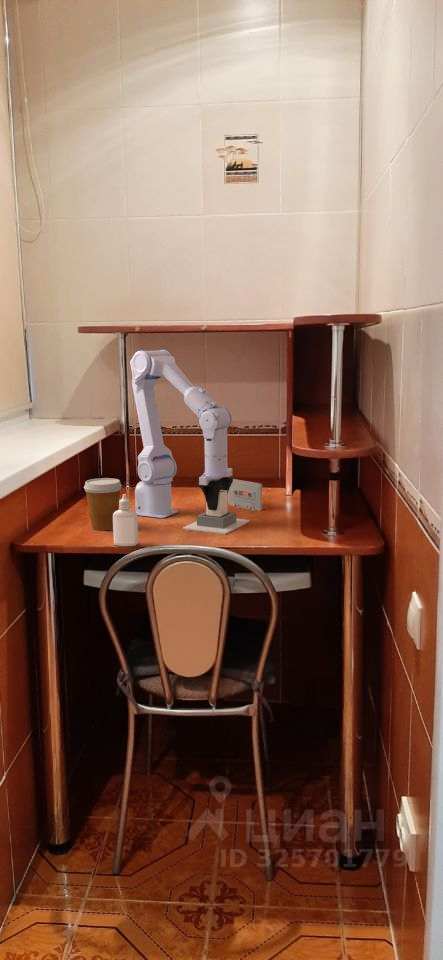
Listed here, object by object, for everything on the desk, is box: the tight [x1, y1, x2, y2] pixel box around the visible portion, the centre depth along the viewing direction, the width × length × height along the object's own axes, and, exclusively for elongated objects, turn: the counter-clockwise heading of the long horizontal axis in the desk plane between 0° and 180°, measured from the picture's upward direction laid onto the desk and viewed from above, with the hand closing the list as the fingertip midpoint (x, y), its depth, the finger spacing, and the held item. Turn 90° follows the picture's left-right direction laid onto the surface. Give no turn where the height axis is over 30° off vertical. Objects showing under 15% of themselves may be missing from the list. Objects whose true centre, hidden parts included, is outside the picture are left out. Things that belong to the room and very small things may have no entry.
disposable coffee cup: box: [83, 477, 123, 531], centre depth 196 cm, size 10×10×12 cm
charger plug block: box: [205, 490, 228, 517], centre depth 196 cm, size 4×4×7 cm
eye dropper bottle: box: [112, 493, 139, 547], centre depth 180 cm, size 4×6×12 cm
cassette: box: [227, 478, 263, 512], centre depth 216 cm, size 12×2×8 cm, turn 47°
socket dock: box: [182, 511, 251, 535], centre depth 197 cm, size 12×14×3 cm
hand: (216, 508), depth 197 cm, fingers closed on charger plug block, 4 cm apart
